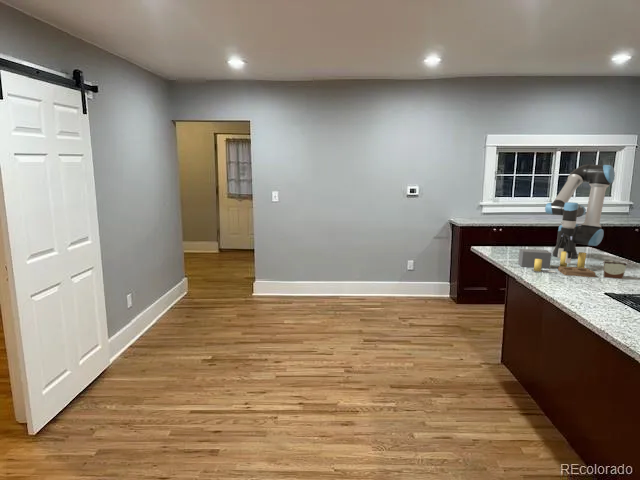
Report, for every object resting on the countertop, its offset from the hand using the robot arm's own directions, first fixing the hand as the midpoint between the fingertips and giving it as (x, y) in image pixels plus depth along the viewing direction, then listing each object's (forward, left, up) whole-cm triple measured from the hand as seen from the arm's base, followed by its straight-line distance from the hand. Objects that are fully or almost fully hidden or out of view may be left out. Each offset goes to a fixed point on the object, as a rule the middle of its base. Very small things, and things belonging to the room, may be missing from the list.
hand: (563, 260), depth 267 cm
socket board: (+15, +2, -4) cm, 16 cm away
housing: (+2, -18, -4) cm, 18 cm away
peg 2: (0, +10, -5) cm, 11 cm away
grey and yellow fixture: (+15, -15, -4) cm, 22 cm away
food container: (+18, +20, -5) cm, 27 cm away
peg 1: (0, 0, -5) cm, 4 cm away
